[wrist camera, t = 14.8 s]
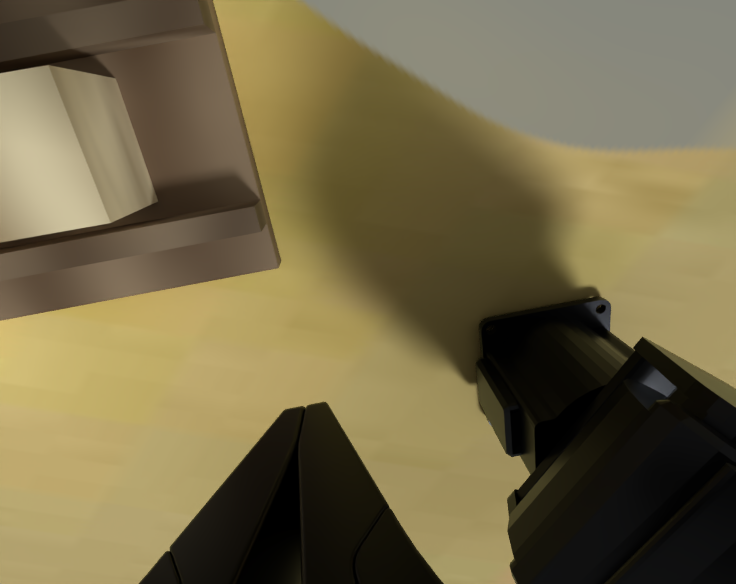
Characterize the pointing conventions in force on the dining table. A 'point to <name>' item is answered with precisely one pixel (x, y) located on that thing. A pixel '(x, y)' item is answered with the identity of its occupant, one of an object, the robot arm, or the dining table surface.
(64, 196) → the beige rectangular block
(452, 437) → the dining table surface
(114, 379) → the dining table surface
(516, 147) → the dining table surface
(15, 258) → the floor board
